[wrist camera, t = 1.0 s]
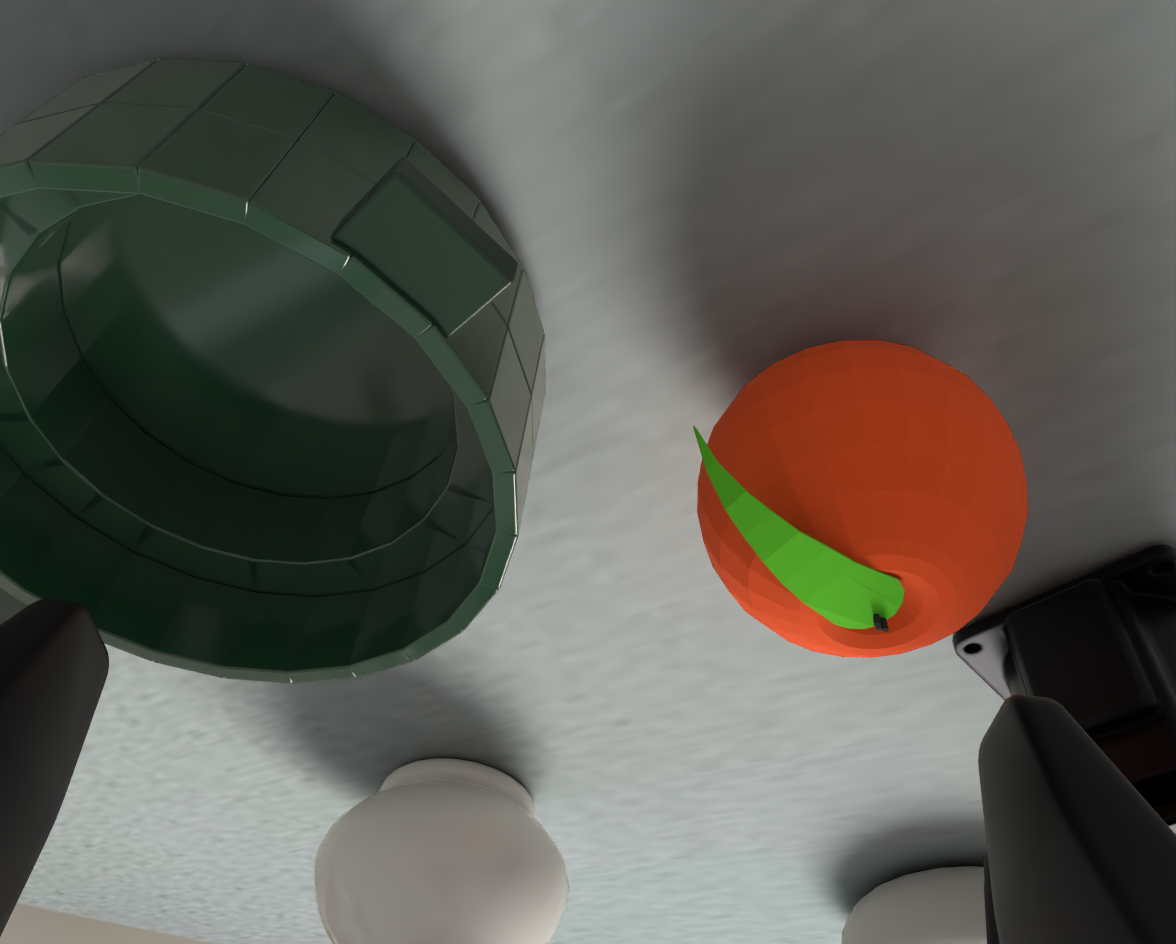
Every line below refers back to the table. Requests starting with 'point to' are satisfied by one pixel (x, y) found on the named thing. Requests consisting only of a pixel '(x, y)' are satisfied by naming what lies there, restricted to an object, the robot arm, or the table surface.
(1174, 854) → the robot arm
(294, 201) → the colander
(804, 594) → the clementine
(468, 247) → the colander handles
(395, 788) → the flower vase
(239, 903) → the table surface
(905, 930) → the donut
